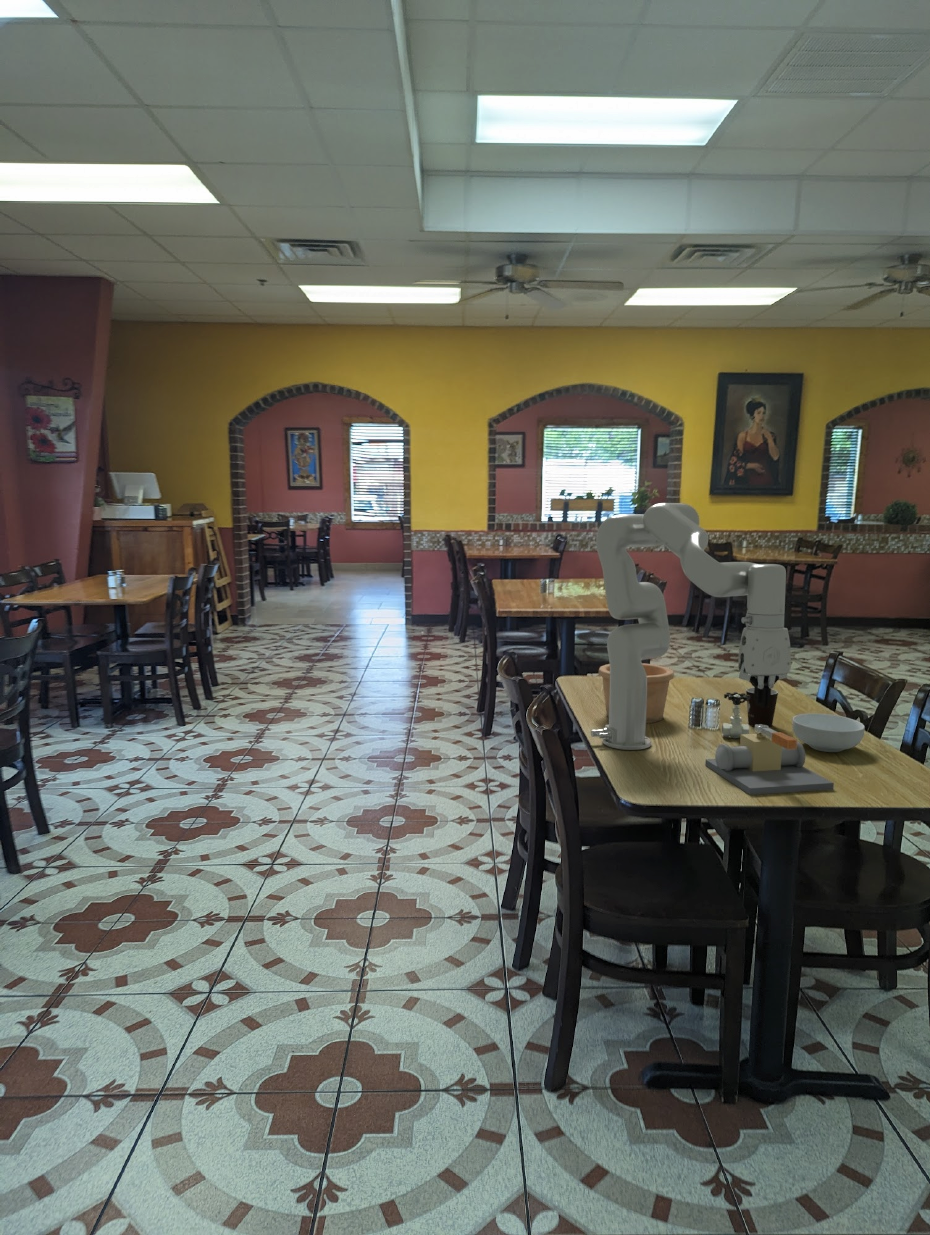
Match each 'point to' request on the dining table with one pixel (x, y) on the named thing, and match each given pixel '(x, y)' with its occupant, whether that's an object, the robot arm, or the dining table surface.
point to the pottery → (655, 689)
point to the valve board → (773, 779)
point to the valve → (735, 717)
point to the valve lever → (776, 736)
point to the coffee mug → (761, 709)
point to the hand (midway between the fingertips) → (761, 705)
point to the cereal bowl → (827, 731)
